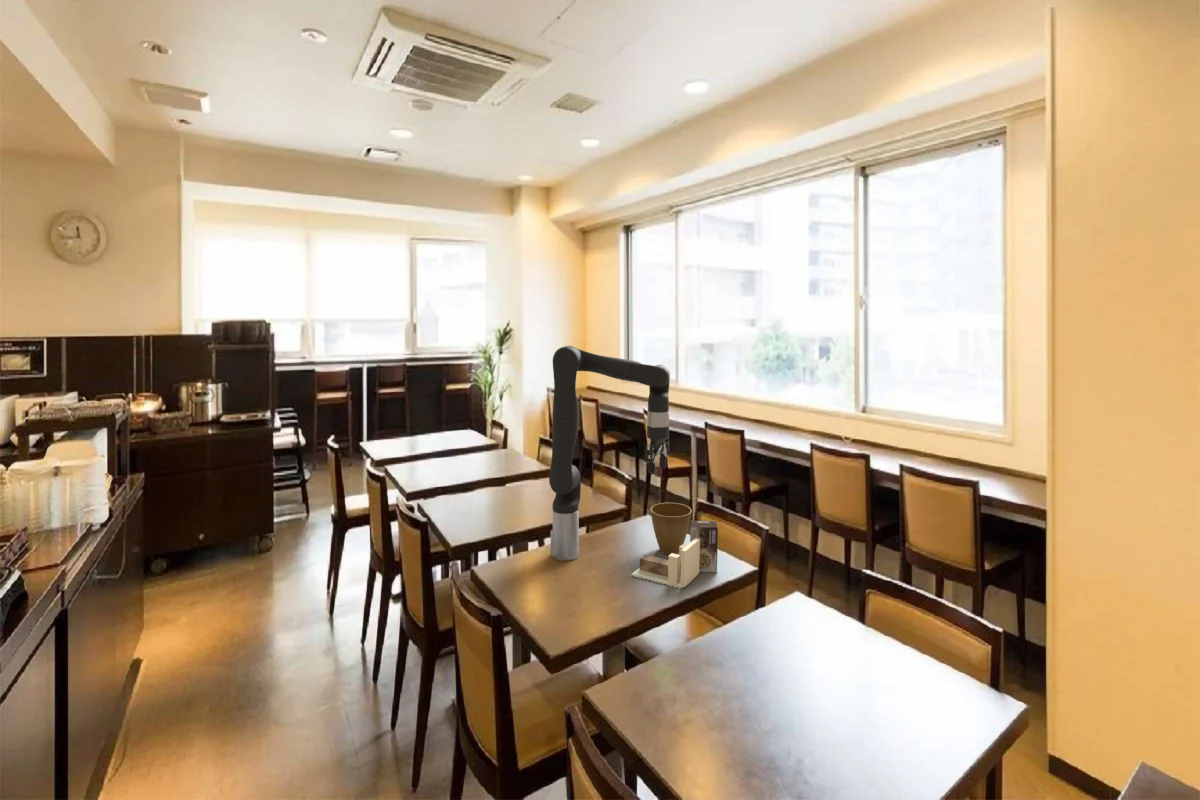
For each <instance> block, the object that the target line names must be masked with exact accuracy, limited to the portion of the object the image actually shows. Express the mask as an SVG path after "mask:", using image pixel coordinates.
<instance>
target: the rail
mask: <svg viewBox="0 0 1200 800" xmlns="http://www.w3.org/2000/svg"><path fill="white" fill-rule="evenodd" d="M639 568H640V570H642V571H646V572H650V573H654V574H658V575H662V576H666V577H668V559H665V558H661V557H657V556H652V555H649V554H644V555H643V556H641V557H640V558H639ZM680 573H681V562H680Z"/></svg>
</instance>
